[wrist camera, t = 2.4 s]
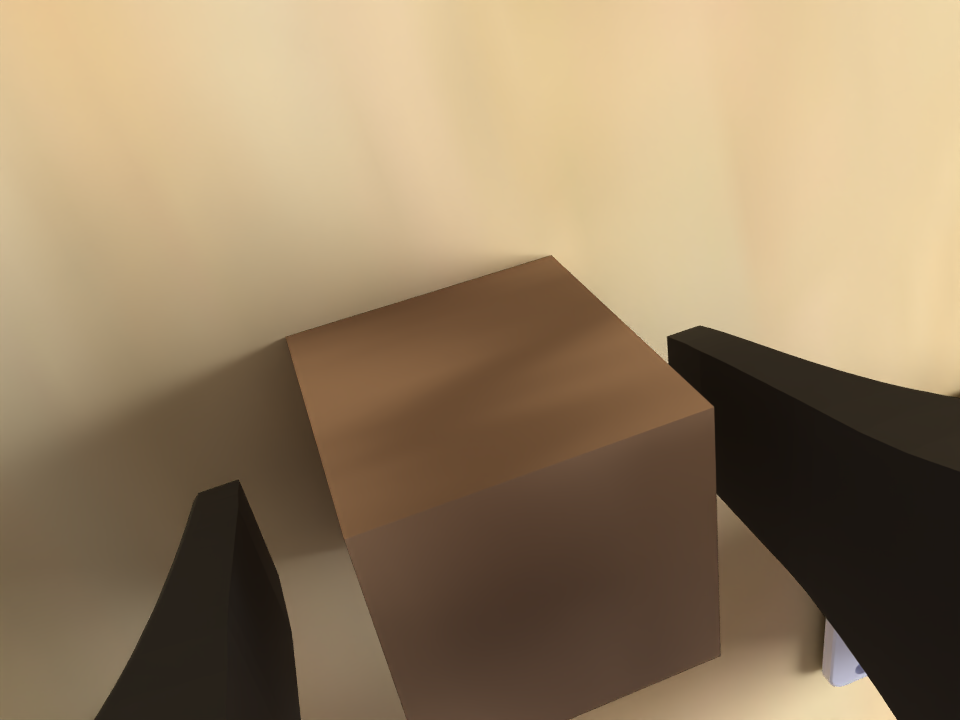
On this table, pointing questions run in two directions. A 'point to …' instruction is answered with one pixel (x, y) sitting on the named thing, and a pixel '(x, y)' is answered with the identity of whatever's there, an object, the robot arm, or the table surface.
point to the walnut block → (517, 495)
